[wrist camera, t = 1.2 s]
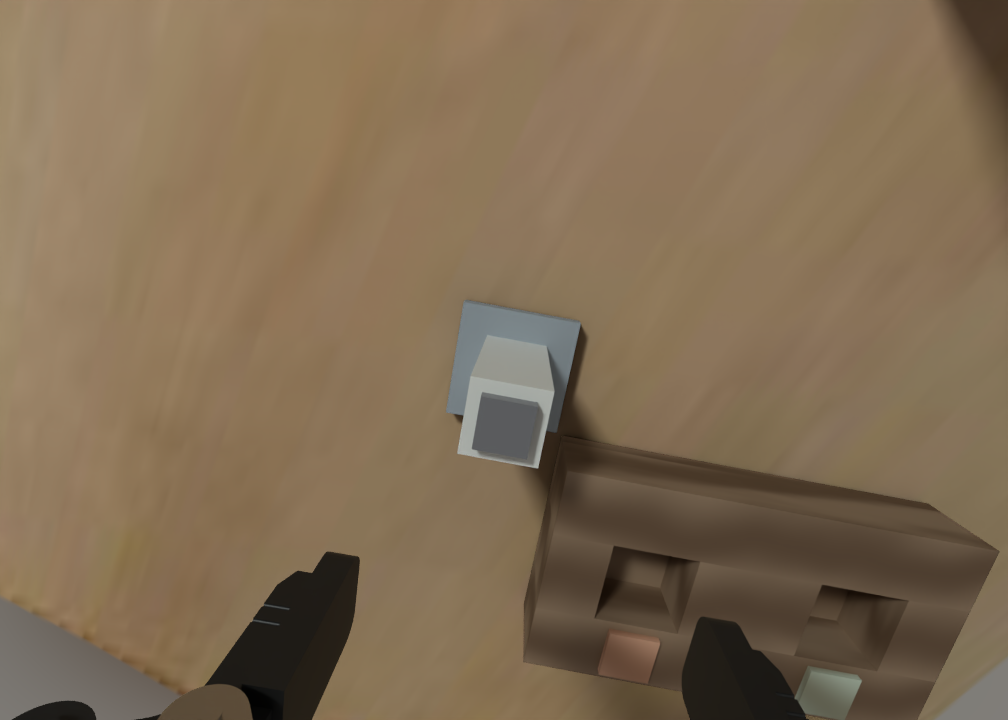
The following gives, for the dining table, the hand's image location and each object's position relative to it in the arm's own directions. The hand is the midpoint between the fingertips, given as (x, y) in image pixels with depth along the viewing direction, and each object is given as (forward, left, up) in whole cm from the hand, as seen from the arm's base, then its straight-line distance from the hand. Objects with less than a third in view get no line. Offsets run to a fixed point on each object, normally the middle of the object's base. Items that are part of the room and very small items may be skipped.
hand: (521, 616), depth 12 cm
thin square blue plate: (-1, -1, -20) cm, 20 cm away
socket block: (+10, +15, -20) cm, 27 cm away
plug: (-1, -1, -19) cm, 19 cm away
